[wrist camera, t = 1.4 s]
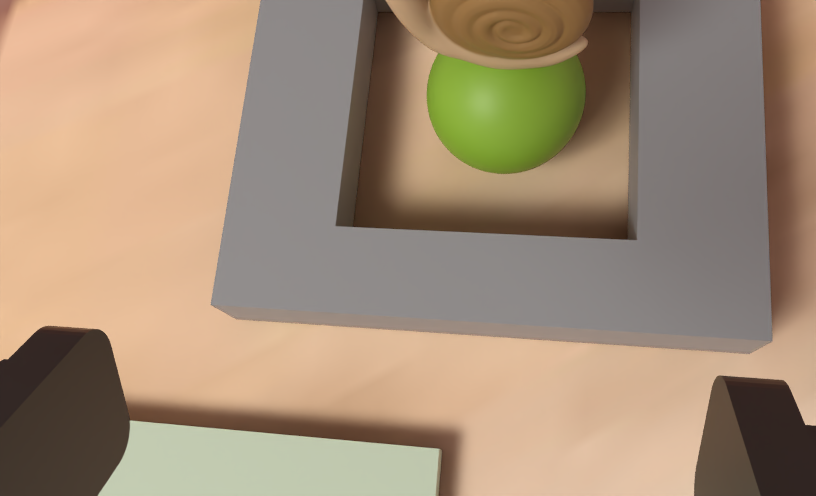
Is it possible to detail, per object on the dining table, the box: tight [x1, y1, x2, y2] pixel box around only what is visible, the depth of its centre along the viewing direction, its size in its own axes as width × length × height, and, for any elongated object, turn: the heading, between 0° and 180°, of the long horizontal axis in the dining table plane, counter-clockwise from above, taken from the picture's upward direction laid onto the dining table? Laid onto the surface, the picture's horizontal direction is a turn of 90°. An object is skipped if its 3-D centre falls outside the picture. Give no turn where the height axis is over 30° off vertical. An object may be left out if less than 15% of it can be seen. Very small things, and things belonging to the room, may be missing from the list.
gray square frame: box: [211, 0, 772, 354], centre depth 28 cm, size 18×16×2 cm
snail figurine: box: [386, 0, 593, 174], centre depth 24 cm, size 5×6×12 cm
